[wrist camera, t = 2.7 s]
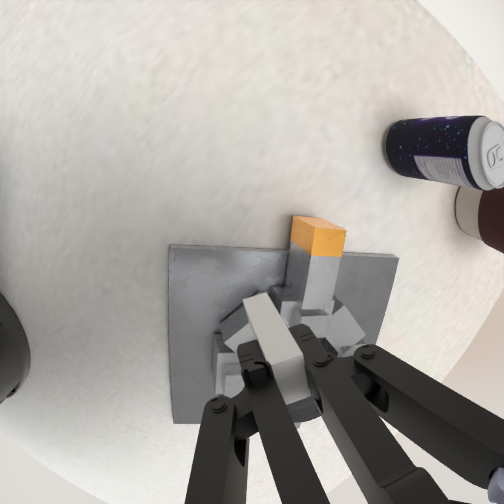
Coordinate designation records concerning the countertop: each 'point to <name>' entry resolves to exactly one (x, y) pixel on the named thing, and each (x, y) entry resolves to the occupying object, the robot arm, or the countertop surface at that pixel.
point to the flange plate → (231, 299)
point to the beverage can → (449, 150)
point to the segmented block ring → (296, 303)
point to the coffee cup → (482, 215)
